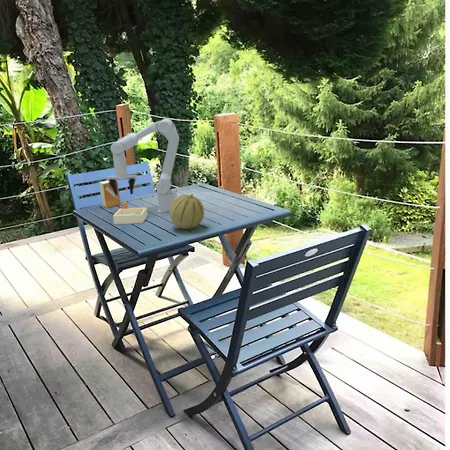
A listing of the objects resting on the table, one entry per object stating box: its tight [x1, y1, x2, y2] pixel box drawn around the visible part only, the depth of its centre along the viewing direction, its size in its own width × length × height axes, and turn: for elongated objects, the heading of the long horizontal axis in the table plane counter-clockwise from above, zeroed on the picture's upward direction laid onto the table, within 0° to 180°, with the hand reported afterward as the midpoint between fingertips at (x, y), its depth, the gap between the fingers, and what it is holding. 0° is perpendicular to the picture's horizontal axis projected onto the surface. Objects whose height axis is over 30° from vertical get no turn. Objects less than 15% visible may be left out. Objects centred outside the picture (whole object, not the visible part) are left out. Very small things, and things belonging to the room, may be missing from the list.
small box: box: [98, 180, 121, 209], centre depth 243 cm, size 8×6×13 cm
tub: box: [112, 207, 149, 225], centre depth 214 cm, size 13×11×4 cm
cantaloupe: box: [168, 193, 205, 230], centre depth 197 cm, size 15×15×15 cm
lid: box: [112, 201, 147, 217], centre depth 228 cm, size 14×12×5 cm
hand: (124, 194), depth 227 cm, fingers open, 7 cm apart
